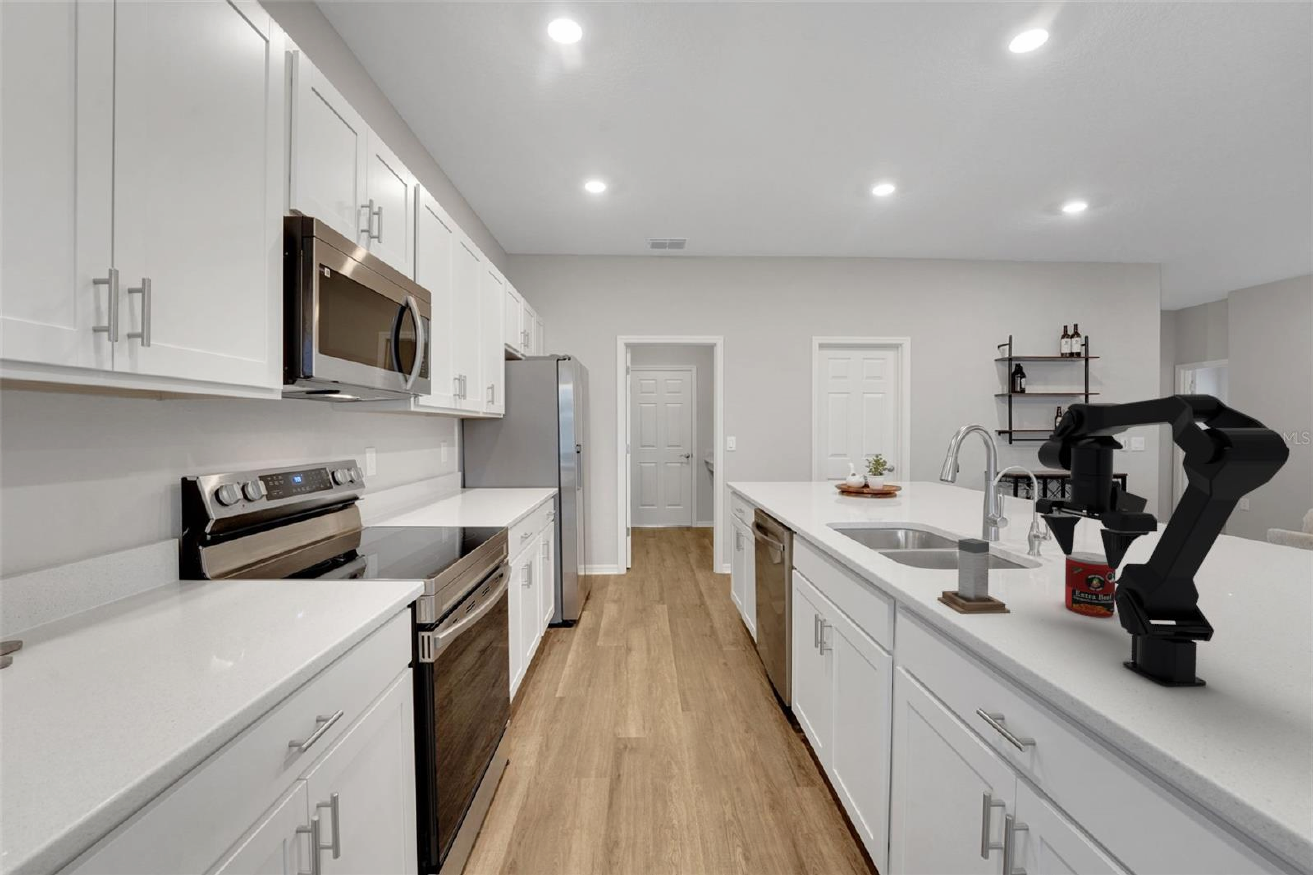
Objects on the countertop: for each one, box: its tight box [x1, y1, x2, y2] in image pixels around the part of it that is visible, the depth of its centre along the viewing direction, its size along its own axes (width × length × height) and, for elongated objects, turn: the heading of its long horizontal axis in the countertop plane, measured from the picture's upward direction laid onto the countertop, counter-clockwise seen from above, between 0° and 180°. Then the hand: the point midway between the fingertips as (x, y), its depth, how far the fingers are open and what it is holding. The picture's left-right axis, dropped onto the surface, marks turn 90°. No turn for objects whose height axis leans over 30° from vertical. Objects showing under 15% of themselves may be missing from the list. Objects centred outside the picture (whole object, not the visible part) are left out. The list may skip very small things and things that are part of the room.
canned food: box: [1064, 551, 1117, 618], centre depth 102 cm, size 8×8×11 cm
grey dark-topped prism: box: [957, 537, 990, 602], centre depth 105 cm, size 4×4×13 cm
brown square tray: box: [937, 590, 1011, 614], centre depth 105 cm, size 8×10×2 cm
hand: (1089, 561), depth 91 cm, fingers open, 9 cm apart
